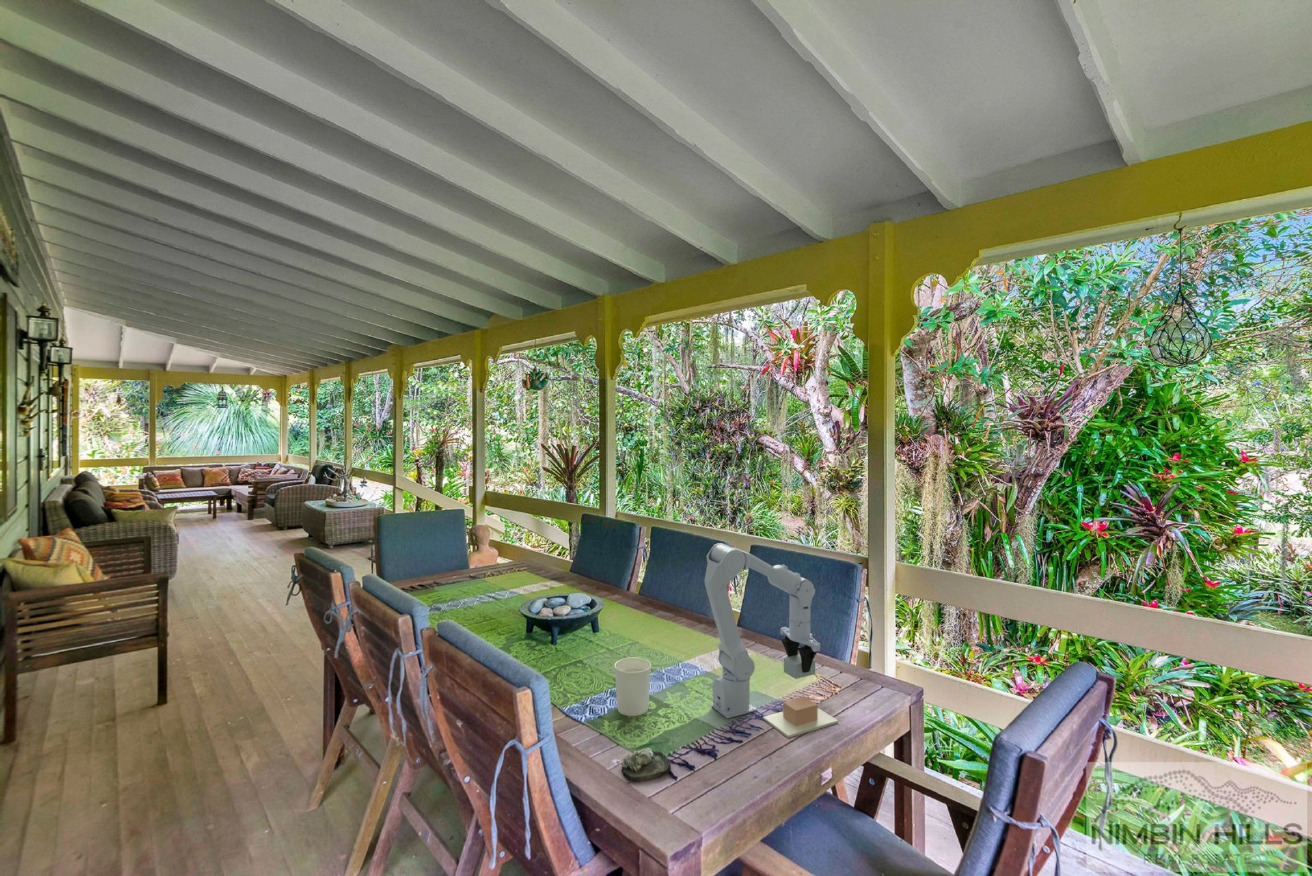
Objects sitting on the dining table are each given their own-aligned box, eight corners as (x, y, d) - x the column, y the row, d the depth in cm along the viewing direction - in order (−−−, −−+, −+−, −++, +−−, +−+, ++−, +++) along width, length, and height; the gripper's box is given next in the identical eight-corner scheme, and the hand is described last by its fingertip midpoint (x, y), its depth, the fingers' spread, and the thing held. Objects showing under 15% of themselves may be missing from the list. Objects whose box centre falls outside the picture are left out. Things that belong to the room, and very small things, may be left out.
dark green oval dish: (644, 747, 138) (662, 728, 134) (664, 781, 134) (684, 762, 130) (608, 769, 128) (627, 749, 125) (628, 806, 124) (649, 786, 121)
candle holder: (609, 714, 153) (608, 669, 152) (622, 697, 162) (621, 655, 162) (644, 720, 150) (644, 674, 149) (655, 702, 159) (655, 659, 159)
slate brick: (795, 678, 159) (795, 664, 159) (783, 671, 164) (783, 657, 164) (815, 674, 162) (815, 659, 162) (803, 667, 167) (803, 653, 167)
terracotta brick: (795, 726, 146) (796, 710, 145) (783, 717, 150) (783, 702, 150) (817, 720, 149) (817, 704, 148) (804, 711, 153) (804, 696, 153)
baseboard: (788, 737, 141) (788, 735, 141) (763, 719, 150) (763, 716, 150) (837, 722, 148) (837, 720, 148) (811, 705, 157) (811, 703, 157)
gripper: (829, 625, 158) (828, 675, 158) (794, 610, 171) (793, 655, 171) (808, 630, 155) (808, 680, 155) (774, 613, 168) (774, 660, 168)
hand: (799, 667), depth 163 cm, fingers closed on slate brick, 5 cm apart
